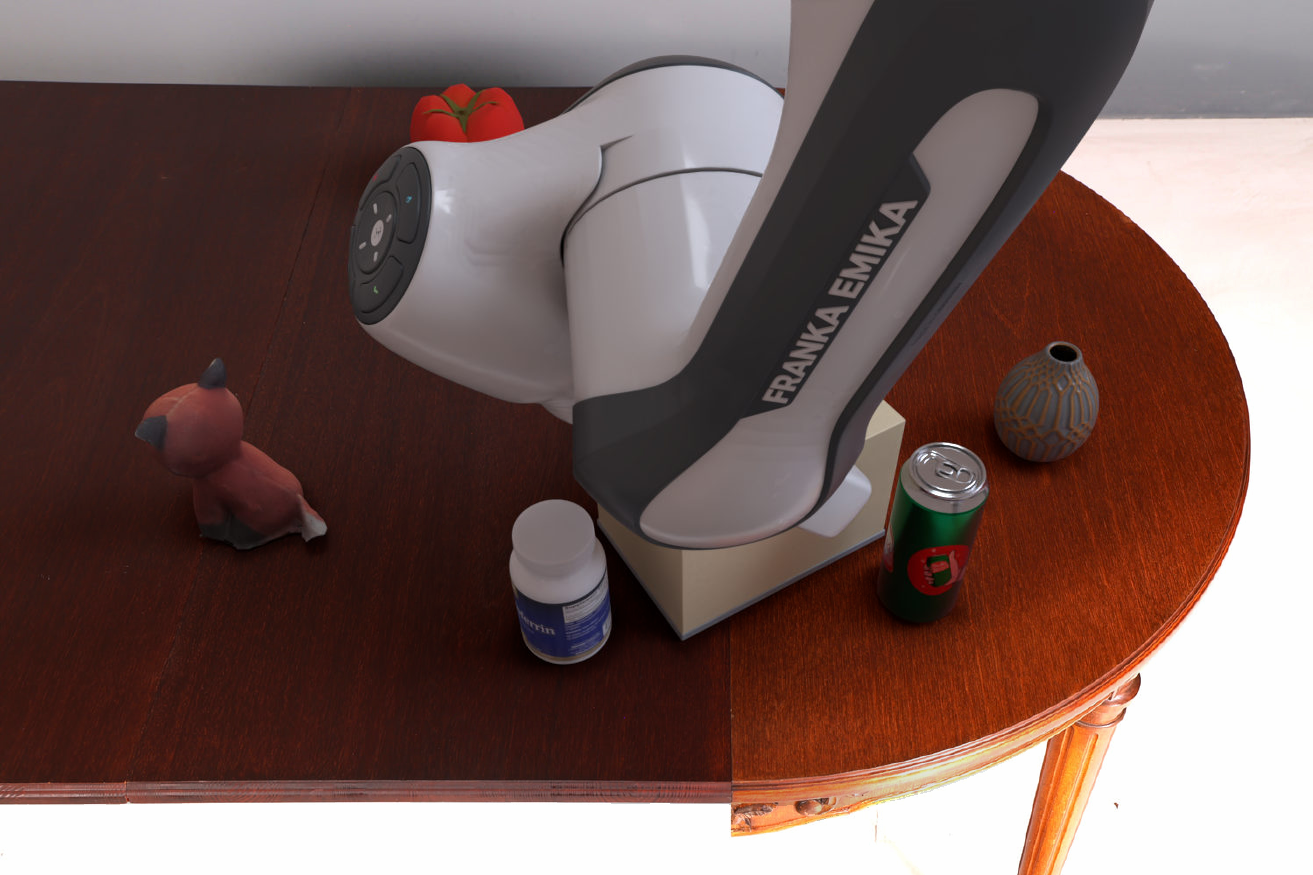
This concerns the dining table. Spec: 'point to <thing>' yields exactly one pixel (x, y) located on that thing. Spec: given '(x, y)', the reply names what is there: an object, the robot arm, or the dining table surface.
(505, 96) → the tomato
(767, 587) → the toaster
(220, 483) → the stuffed fox
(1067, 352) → the vase
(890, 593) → the soda can
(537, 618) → the pill bottle
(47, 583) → the dining table surface
